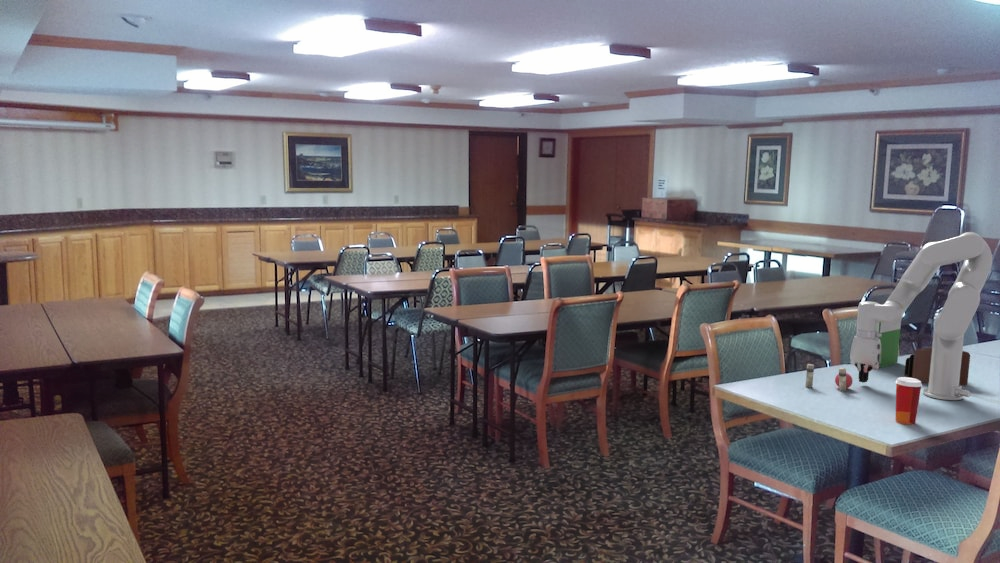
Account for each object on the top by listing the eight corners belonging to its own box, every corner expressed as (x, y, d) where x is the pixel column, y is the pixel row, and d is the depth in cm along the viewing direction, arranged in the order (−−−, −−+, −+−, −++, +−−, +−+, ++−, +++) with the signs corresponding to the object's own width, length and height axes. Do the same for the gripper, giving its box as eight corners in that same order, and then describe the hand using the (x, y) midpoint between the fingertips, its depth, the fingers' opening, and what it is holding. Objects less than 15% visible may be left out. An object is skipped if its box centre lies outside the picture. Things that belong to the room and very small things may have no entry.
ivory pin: (847, 389, 284) (847, 368, 282) (844, 392, 283) (843, 370, 281) (841, 388, 286) (841, 367, 284) (837, 390, 285) (837, 369, 283)
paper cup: (912, 419, 251) (916, 377, 250) (923, 426, 244) (927, 383, 242) (887, 417, 252) (891, 376, 250) (897, 425, 245) (901, 382, 243)
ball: (842, 388, 284) (852, 392, 286) (848, 373, 284) (858, 377, 287) (829, 383, 289) (838, 387, 292) (835, 368, 289) (844, 373, 292)
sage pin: (813, 387, 289) (815, 365, 288) (810, 388, 287) (811, 365, 286) (807, 385, 291) (809, 363, 290) (804, 386, 289) (805, 364, 288)
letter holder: (967, 386, 296) (971, 350, 294) (911, 382, 300) (914, 347, 298) (957, 380, 305) (961, 345, 303) (903, 376, 309) (906, 342, 307)
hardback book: (877, 368, 322) (881, 311, 319) (859, 364, 328) (864, 309, 325) (897, 362, 333) (902, 308, 329) (880, 359, 338) (884, 305, 335)
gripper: (891, 336, 287) (887, 384, 289) (853, 330, 299) (849, 376, 301) (881, 338, 282) (877, 387, 285) (842, 331, 294) (839, 378, 297)
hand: (863, 381), depth 293 cm, fingers closed
